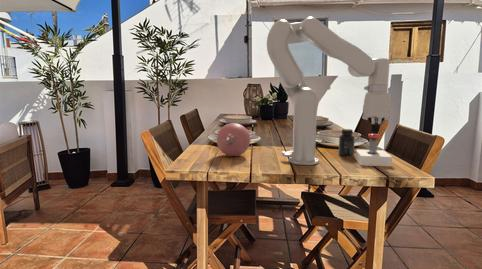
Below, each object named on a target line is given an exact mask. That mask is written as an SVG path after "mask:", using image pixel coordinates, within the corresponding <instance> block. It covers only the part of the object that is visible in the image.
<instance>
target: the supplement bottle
mask: <svg viewBox="0 0 482 269" xmlns="http://www.w3.org/2000/svg"><path fill="white" fill-rule="evenodd" d="M353 134H354V132H353V129H350V128H343V129H341V134H340V136H339V138H338V155H339V156H342V157H353V156H355V139H356V138H355V136H354V135H353Z"/></svg>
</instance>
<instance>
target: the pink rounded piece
mask: <svg viewBox="0 0 482 269" xmlns="http://www.w3.org/2000/svg"><path fill="white" fill-rule="evenodd" d="M250 143H251V136H250V133H249V131H248V129H247V128H246V127H245V126H243V125H242V124H241V123H237V122H229V123H227V124H225V125H222V127H221V128H219V131H218V133H217V136H216V145H217V147H218V149H219V150H220V151H221V153H222V154H224V155H226V156H228V157H232V156H235V157H238V156H241V155H243V154H244V153H246V152H247V151H248V148H249V147H250Z"/></svg>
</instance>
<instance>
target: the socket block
mask: <svg viewBox="0 0 482 269" xmlns="http://www.w3.org/2000/svg"><path fill="white" fill-rule="evenodd" d="M354 158H355V160H356V161H357V163H358V164H359V165H360V166H366V167H367V166H368V167H369V166H373V167H391V168H392V165H393V164H392V163H393V156H391V155H390V154H389V153H388V152H386V151H385V150H379V149H377V154H369V149H355V150H354Z"/></svg>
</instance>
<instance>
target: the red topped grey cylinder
mask: <svg viewBox="0 0 482 269" xmlns="http://www.w3.org/2000/svg"><path fill="white" fill-rule="evenodd" d="M380 137H381V135H380V134H379V133H378V134H376V133H375V134H373V133H368V134H367V138H369V144H368V145H369V146H368V150H369V154H377V150H378V139H379V138H380Z"/></svg>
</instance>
